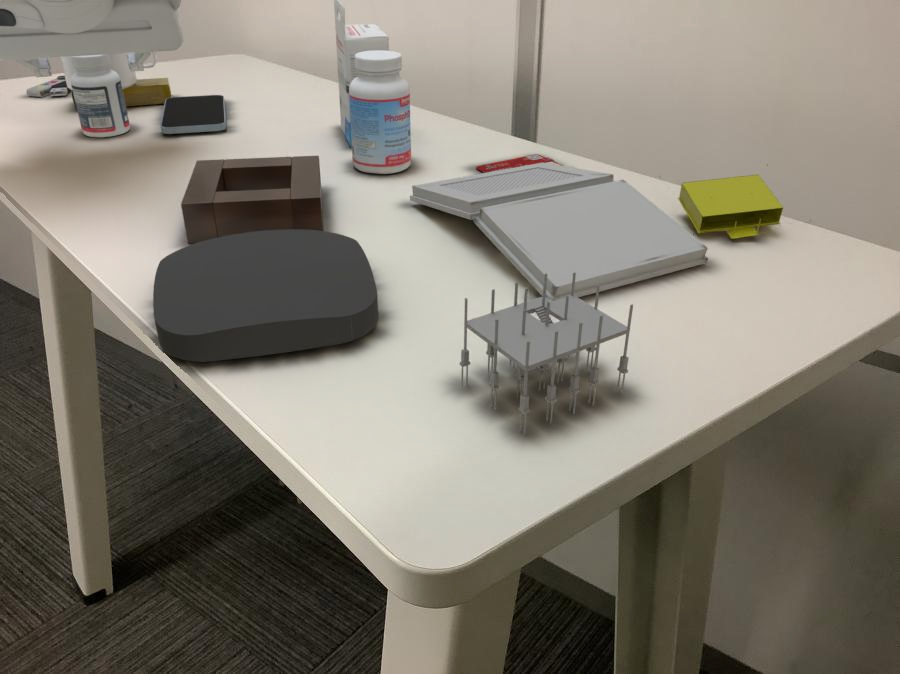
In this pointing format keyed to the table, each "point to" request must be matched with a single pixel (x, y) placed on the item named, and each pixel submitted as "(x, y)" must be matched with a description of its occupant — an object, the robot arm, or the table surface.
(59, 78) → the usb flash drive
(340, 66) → the ink box
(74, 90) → the pill bottle
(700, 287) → the table surface
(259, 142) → the table surface
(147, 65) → the mug
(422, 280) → the table surface
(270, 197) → the holder
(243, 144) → the table surface
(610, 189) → the gadget
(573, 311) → the building frame
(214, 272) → the media streaming box
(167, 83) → the medication box
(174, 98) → the smartphone
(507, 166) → the card
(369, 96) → the pill bottle
